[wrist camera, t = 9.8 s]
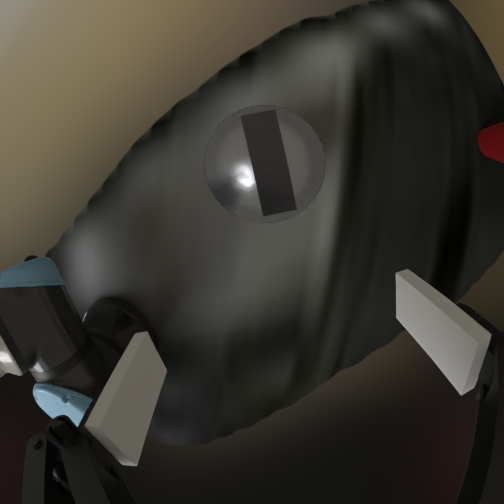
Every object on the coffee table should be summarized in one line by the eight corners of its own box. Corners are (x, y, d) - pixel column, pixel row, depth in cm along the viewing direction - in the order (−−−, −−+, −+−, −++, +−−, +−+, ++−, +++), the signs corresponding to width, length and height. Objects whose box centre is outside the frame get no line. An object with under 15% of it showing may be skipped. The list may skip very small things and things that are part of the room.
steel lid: (221, 231, 32) (213, 250, 25) (195, 122, 28) (179, 110, 21) (331, 208, 31) (353, 220, 24) (309, 99, 27) (324, 81, 20)
